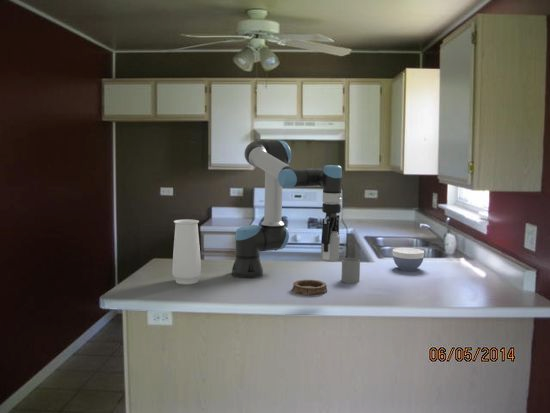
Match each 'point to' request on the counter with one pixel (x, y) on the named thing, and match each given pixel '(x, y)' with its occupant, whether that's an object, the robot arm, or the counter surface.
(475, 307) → the counter surface
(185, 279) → the vase
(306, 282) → the tray
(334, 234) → the can
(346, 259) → the cup
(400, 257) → the bowl
